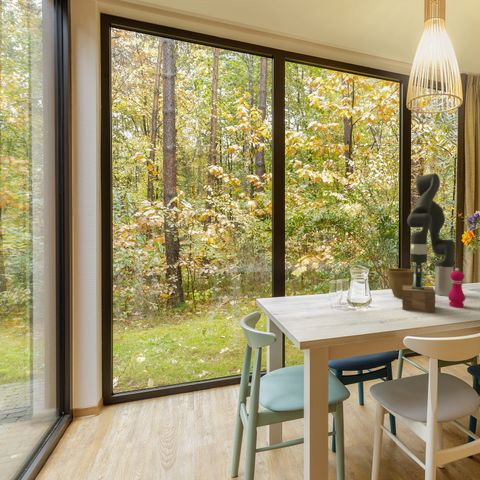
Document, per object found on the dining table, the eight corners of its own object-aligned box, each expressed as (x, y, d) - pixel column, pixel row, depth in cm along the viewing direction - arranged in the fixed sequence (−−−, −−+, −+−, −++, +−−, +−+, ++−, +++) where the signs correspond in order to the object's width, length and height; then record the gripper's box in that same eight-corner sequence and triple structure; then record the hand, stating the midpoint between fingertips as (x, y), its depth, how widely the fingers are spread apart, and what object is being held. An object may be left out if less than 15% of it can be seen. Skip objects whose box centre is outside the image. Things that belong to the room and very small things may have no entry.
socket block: (402, 303, 170) (402, 284, 169) (432, 306, 163) (432, 287, 163) (402, 309, 157) (402, 289, 157) (434, 312, 151) (435, 292, 150)
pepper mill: (467, 308, 158) (468, 269, 157) (451, 307, 160) (452, 268, 159) (460, 304, 165) (461, 267, 164) (445, 304, 167) (446, 267, 166)
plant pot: (415, 295, 187) (416, 269, 186) (414, 300, 174) (414, 272, 173) (388, 292, 195) (388, 267, 194) (385, 297, 182) (385, 270, 181)
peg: (413, 290, 163) (413, 272, 162) (422, 290, 161) (422, 273, 160) (413, 291, 159) (413, 274, 159) (422, 292, 157) (423, 274, 157)
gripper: (410, 251, 167) (409, 283, 168) (410, 253, 154) (409, 288, 155) (426, 251, 163) (425, 284, 164) (428, 254, 151) (427, 289, 152)
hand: (418, 286), depth 160 cm, fingers closed on peg, 4 cm apart
